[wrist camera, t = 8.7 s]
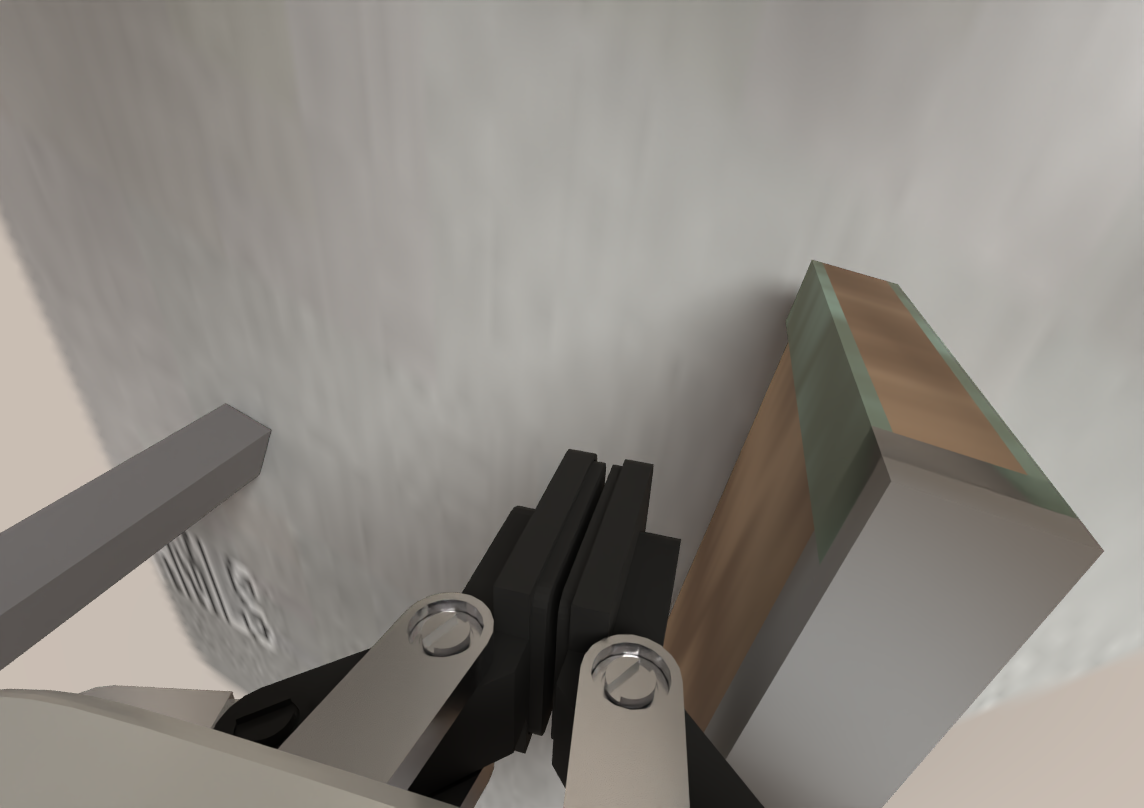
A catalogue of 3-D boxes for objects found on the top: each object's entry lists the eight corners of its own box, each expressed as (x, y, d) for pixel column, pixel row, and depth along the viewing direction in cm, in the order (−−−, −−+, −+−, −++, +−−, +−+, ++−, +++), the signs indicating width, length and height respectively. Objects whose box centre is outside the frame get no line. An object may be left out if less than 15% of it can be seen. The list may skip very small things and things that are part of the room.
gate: (693, 690, 21) (653, 1071, 13) (638, 669, 22) (565, 1029, 13) (897, 284, 14) (1104, 551, 6) (812, 259, 14) (891, 481, 6)
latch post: (216, 448, 25) (-77, 639, 16) (225, 403, 23) (-86, 582, 15) (259, 474, 25) (-10, 678, 16) (271, 430, 23) (-14, 624, 15)
